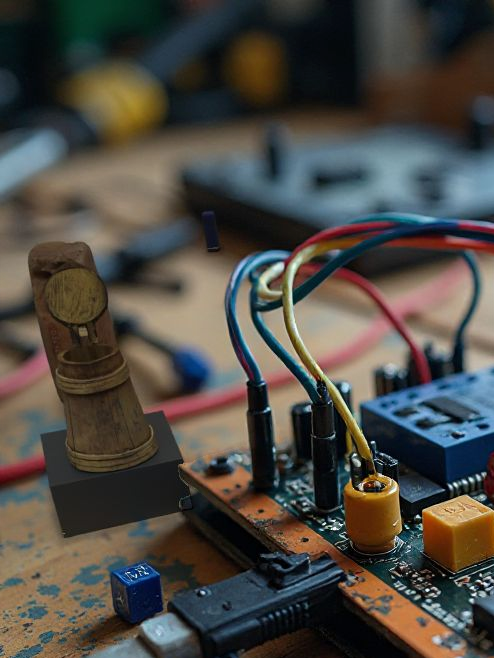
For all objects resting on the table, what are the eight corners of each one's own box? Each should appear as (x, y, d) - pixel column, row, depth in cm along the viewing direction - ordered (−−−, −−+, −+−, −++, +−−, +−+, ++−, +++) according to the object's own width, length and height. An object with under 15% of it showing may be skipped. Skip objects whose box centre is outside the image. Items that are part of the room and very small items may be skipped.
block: (70, 388, 141) (31, 238, 131) (129, 382, 142) (95, 233, 132) (57, 423, 132) (14, 265, 122) (120, 417, 133) (83, 259, 123)
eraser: (208, 248, 194) (202, 211, 190) (221, 248, 194) (214, 210, 191) (206, 252, 192) (200, 214, 189) (219, 251, 192) (212, 213, 189)
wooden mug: (149, 411, 120) (115, 253, 111) (162, 462, 109) (125, 292, 100) (65, 425, 117) (23, 265, 108) (70, 480, 106) (23, 307, 97)
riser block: (63, 538, 108) (49, 486, 105) (53, 482, 119) (40, 433, 116) (193, 508, 113) (183, 458, 110) (172, 457, 123) (162, 410, 120)
